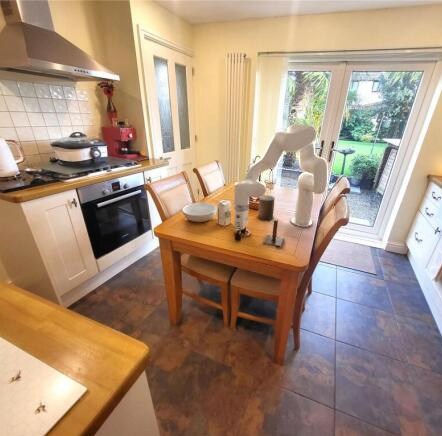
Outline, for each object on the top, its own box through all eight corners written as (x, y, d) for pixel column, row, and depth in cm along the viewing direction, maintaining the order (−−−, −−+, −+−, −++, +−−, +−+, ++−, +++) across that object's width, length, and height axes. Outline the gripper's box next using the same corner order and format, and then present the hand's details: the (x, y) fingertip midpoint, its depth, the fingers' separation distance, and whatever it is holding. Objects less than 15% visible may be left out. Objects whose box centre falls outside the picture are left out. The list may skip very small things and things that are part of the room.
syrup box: (224, 221, 144) (224, 199, 138) (231, 224, 141) (231, 201, 135) (217, 224, 140) (217, 201, 134) (224, 227, 137) (224, 204, 131)
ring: (237, 229, 135) (237, 227, 134) (252, 232, 133) (252, 229, 132) (231, 236, 127) (231, 234, 126) (248, 239, 125) (248, 237, 124)
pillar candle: (272, 221, 146) (274, 199, 140) (256, 219, 148) (258, 197, 142) (273, 215, 155) (275, 193, 149) (258, 213, 157) (260, 192, 150)
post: (267, 236, 129) (269, 215, 123) (283, 239, 126) (286, 217, 121) (263, 244, 121) (265, 221, 115) (280, 248, 119) (283, 225, 113)
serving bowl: (198, 209, 160) (198, 199, 157) (223, 216, 150) (223, 206, 147) (175, 220, 143) (175, 209, 140) (202, 229, 134) (202, 218, 131)
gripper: (243, 213, 110) (242, 245, 118) (253, 201, 125) (251, 230, 133) (228, 211, 112) (228, 242, 120) (239, 199, 127) (238, 228, 135)
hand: (240, 236), depth 126 cm, fingers open, 7 cm apart
